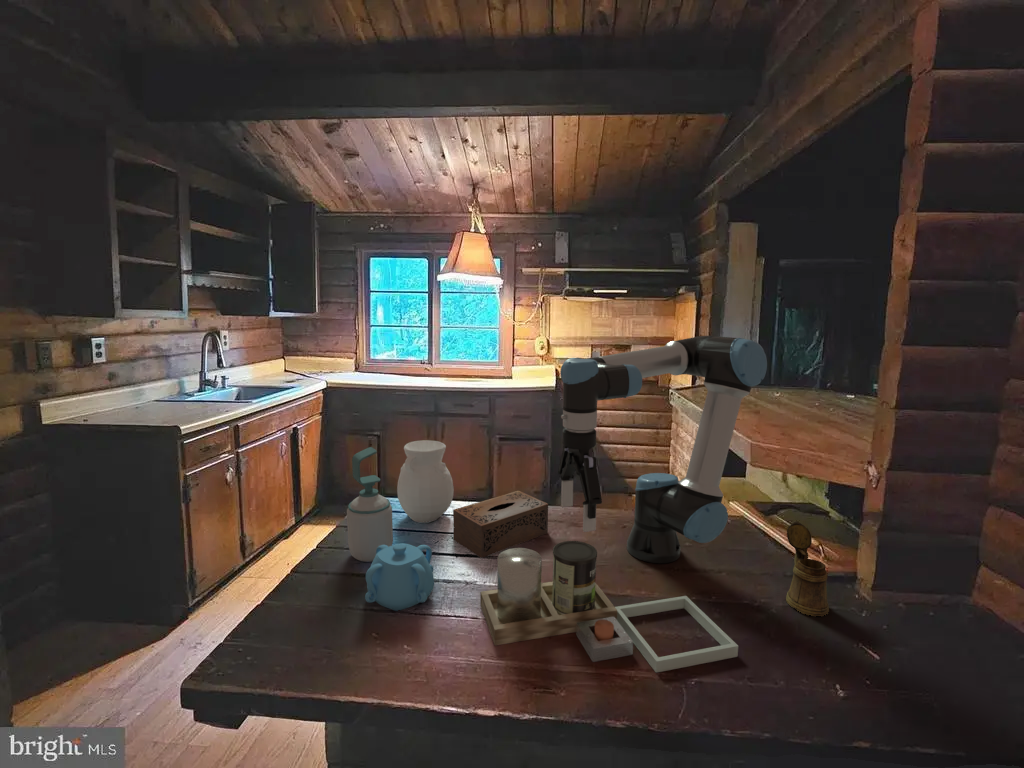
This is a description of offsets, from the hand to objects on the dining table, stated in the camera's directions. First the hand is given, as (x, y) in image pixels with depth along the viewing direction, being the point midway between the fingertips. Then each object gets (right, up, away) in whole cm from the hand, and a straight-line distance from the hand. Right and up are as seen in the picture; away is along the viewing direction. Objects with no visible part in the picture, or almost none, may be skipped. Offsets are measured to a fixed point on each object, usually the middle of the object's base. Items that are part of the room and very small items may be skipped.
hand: (577, 517), depth 121 cm
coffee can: (-1, -22, +4) cm, 22 cm away
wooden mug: (+57, -23, +9) cm, 62 cm away
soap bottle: (-56, -18, +30) cm, 66 cm away
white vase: (-44, -14, +56) cm, 72 cm away
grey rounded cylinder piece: (-14, -22, 0) cm, 26 cm away
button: (+5, -25, -8) cm, 26 cm away
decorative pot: (-43, -22, +9) cm, 49 cm away
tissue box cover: (-18, -17, +42) cm, 49 cm away
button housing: (+5, -25, -8) cm, 27 cm away
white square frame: (+20, -25, -5) cm, 32 cm away
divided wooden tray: (-7, -23, +2) cm, 24 cm away
